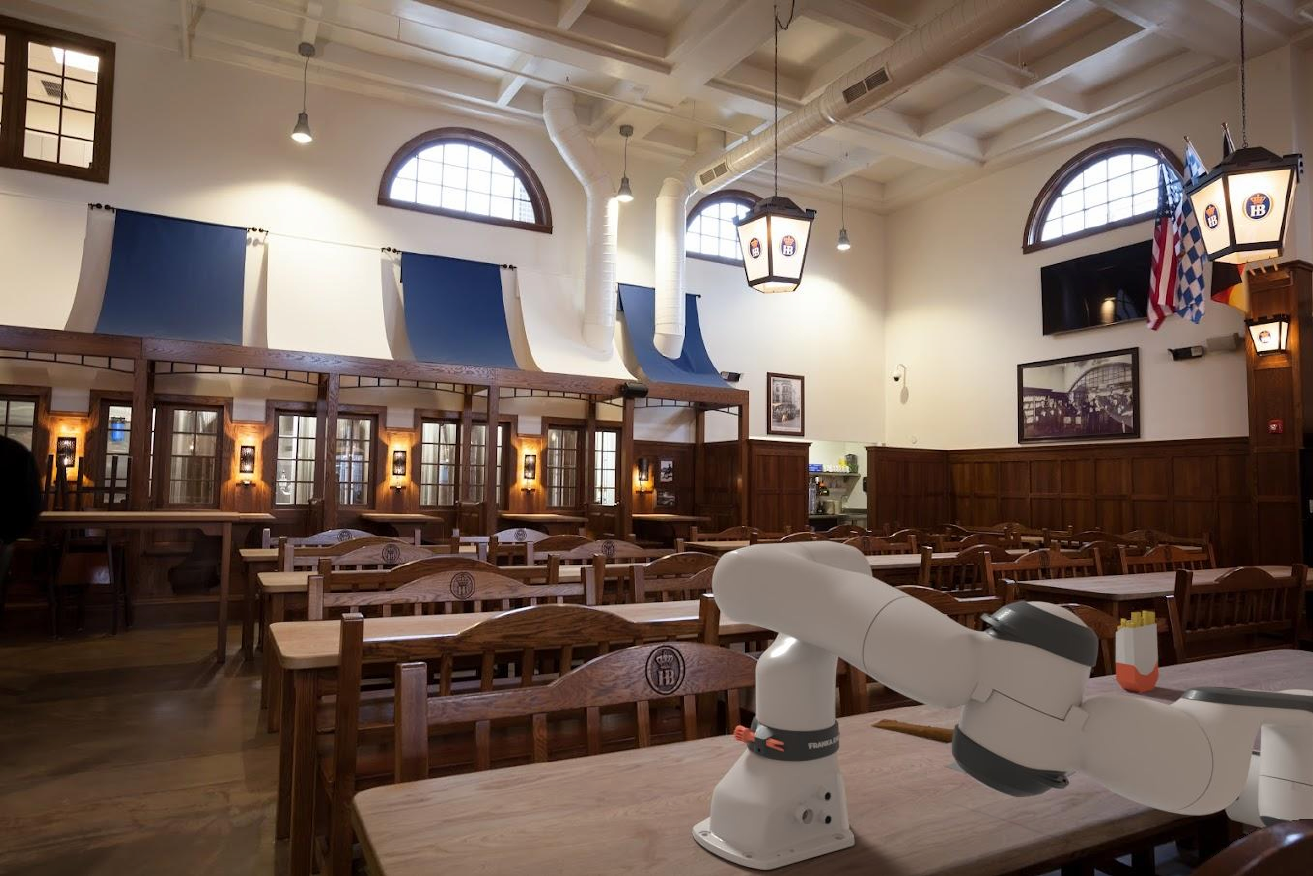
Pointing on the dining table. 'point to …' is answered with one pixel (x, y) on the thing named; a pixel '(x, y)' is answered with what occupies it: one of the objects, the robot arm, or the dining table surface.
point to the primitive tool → (916, 730)
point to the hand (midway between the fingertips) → (1133, 761)
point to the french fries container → (1137, 652)
